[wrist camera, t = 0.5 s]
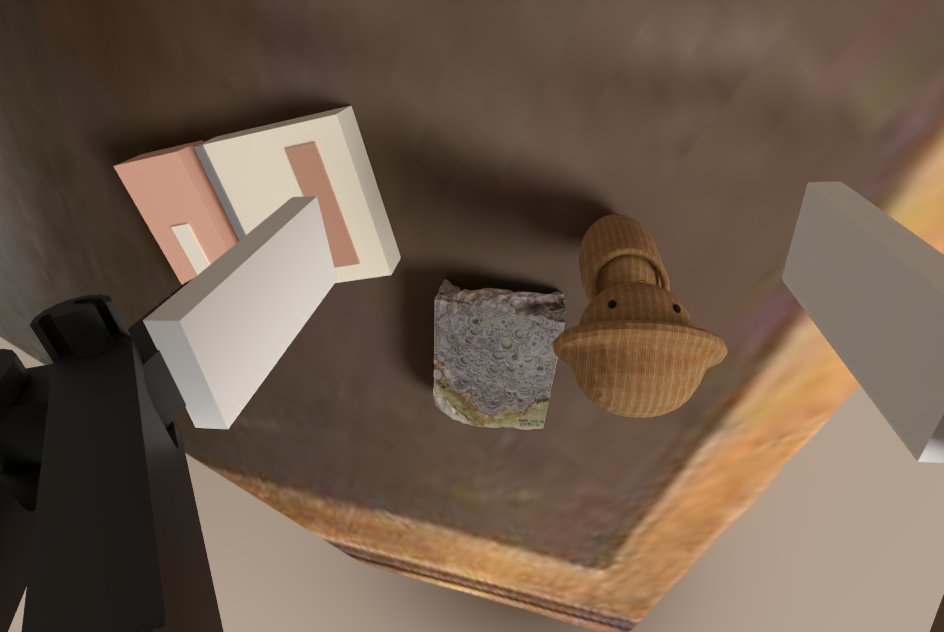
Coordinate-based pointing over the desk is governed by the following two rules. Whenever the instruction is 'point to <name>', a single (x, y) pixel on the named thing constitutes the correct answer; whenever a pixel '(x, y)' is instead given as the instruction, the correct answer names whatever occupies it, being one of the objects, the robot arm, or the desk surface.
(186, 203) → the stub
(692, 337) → the figurine
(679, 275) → the desk surface
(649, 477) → the desk surface
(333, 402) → the desk surface
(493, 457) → the desk surface
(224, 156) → the cream block with stripe
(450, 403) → the geological specimen
